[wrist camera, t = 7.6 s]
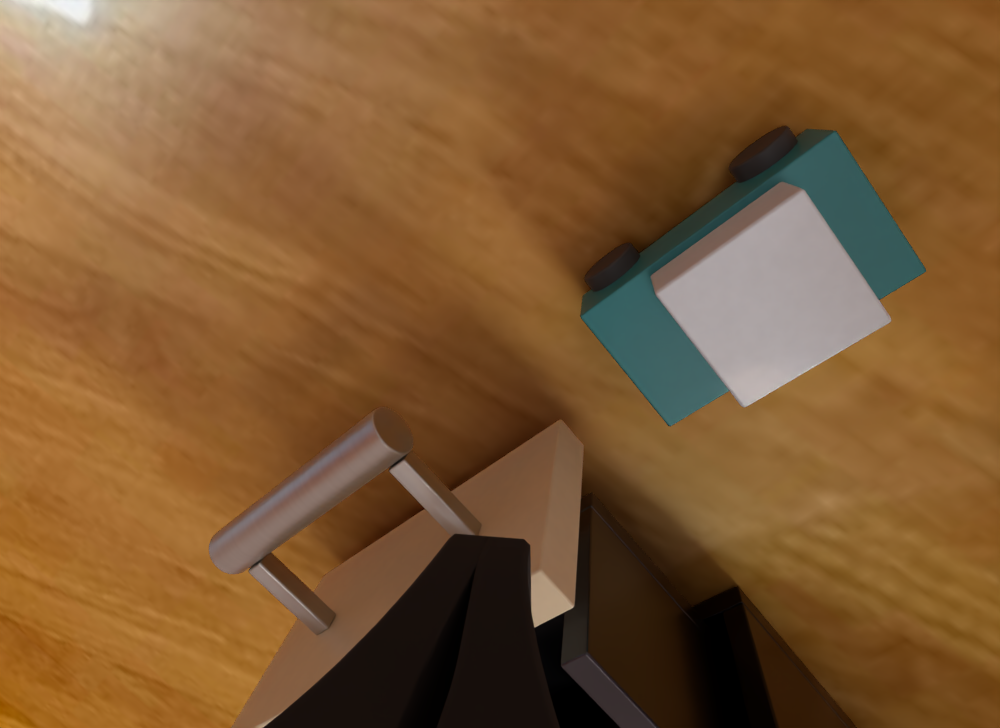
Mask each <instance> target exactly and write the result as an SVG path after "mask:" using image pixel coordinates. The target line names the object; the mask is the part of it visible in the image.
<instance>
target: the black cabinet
mask: <svg viewBox="0 0 1000 728" xmlns="http://www.w3.org/2000/svg"><path fill="white" fill-rule="evenodd" d="M693 608H694V610H695V611H696V612H697V613H698V614H699V615H700V616H701V618H702V619H703V620H704V621H705V622H706V623H707V624H708V626H709V627H710V628H711V629H712V630H713V631H714V632H715V634H716V635H717V636H718V637H719V638H720V639H721V640H722V642H723V643H724V644H725V645H726V646H727V647H728V648H729V650H730V651H731V652H732V654H733V658H734V663H735V667H736V671H737V675H738V679H739V683H740V687H741V692H742V696H743V700H744V704H745V708H746V712H747V716H748V721H749V725H750V728H857V727H856V726H855V725H854V724H853V723H852V721H851V720H850V719H849V718H848V717H847V715H846V714H845V713H844V712H843V711H842V710H841V708H840V707H839V706H838V705H837V704H836V702H835V701H834V700H833V699H832V698H831V696H830V695H829V694H828V693H827V692H826V690H825V689H824V688H823V687H822V686H821V685H820V683H819V682H818V681H817V680H816V679H815V677H814V676H813V675H812V674H811V673H810V671H809V670H808V669H807V668H806V667H805V666H804V664H803V663H802V662H801V661H800V660H799V658H798V657H797V656H796V655H795V654H794V652H793V651H792V650H791V649H790V648H789V647H788V645H787V644H786V643H785V642H784V641H783V639H782V638H781V637H780V636H779V635H778V633H777V632H776V631H775V630H774V629H773V627H772V626H771V625H770V624H769V623H768V622H767V620H766V619H765V618H764V617H763V616H762V614H761V613H760V612H759V611H758V610H757V608H756V607H755V606H754V605H753V604H752V603H751V601H750V600H749V599H748V598H747V597H746V595H745V594H744V593H743V592H742V591H741V589H740V588H739V587H738V586H736V587H734V588H732V589H730V590H728V591H725V592H723V593H721V594H719V595H717V596H715V597H713V598H711V599H708V600H706V601H704V602H702V603H700V604H698V605H696V606H694V607H693Z"/></svg>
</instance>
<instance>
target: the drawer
mask: <svg viewBox="0 0 1000 728" xmlns="http://www.w3.org/2000/svg"><path fill="white" fill-rule="evenodd" d="M412 448H413V436H412V433H411V430H410V428H409V426H408V425H407V423H406V422H405V420H404V419H403V418H402V417H401V416H400V415H399V414H398V413H397V412H395V411H394V410H392V409H390V408H387V407H378V408H376V409H375V410H373V411H372V412H371V413H370V414H368V415H367V416H366V417H364V418H363V419H362V420H361V421H359V422H358V423H357V424H355V425H354V426H353V427H352V428H350V429H349V430H348V431H346V432H345V433H344V434H343V435H341V436H340V437H339V438H337V439H336V440H335V441H334V442H332V443H331V444H330V445H328V446H327V447H326V448H325V449H323V450H322V451H321V452H319V453H318V454H317V455H316V456H314V457H313V458H312V459H310V460H309V461H308V462H307V463H305V464H304V465H303V466H301V467H300V468H299V469H298V470H296V471H295V472H294V473H293V474H291V475H290V476H289V477H287V478H286V479H285V480H284V481H282V482H281V483H280V484H278V485H277V486H276V487H275V488H273V489H272V490H271V491H269V492H268V493H267V494H266V495H264V496H263V497H262V498H260V499H259V500H258V501H257V502H255V503H254V504H253V505H251V506H250V507H249V508H248V509H246V510H245V511H244V512H242V513H241V514H240V515H239V516H237V517H236V518H235V519H233V520H232V521H231V522H230V523H228V524H227V525H226V526H224V527H223V528H222V529H221V530H219V531H218V532H217V533H216V534H215V535H214V536H213V537H212V539H211V541H210V544H209V554H210V557H211V560H212V561H213V563H214V564H215V566H216V567H217V568H219V569H220V570H221V571H223V572H225V573H228V574H239V573H242V572H244V571H245V570H247V569H248V568H250V567H251V568H250V569H249V573H250V574H251V575H252V576H253V577H254V578H255V579H256V580H257V581H258V582H260V583H261V584H262V585H263V586H264V587H265V588H266V589H267V590H268V591H269V592H270V593H271V594H272V595H274V596H275V597H276V598H277V599H278V600H279V601H280V602H281V603H282V604H283V605H284V606H285V607H286V608H287V609H289V610H290V611H291V612H292V613H293V614H294V615H295V616H296V617H297V618H298V619H297V620H296V622H295V624H294V625H293V627H292V629H291V630H290V632H289V634H288V635H287V637H286V639H285V640H284V642H283V643H282V645H281V647H280V648H279V650H278V652H277V653H276V655H275V657H274V658H273V660H272V662H271V663H270V665H269V666H268V668H267V670H266V671H265V673H264V675H263V676H262V678H261V680H260V681H259V683H258V685H257V686H256V688H255V689H254V691H253V693H252V694H251V696H250V698H249V699H248V701H247V703H246V704H245V706H244V708H243V709H242V711H241V712H240V714H239V716H238V717H237V719H236V721H235V722H234V724H233V726H232V727H231V728H263V727H264V726H266V725H267V724H268V723H269V722H271V721H272V720H273V719H274V718H276V717H277V716H278V715H279V714H281V713H282V712H283V711H284V710H285V709H287V708H288V707H289V706H290V705H291V704H292V703H294V702H295V701H296V700H297V699H298V698H299V697H301V696H302V695H303V694H304V693H305V692H306V691H307V690H309V689H310V688H311V687H312V686H313V685H314V684H315V683H316V682H318V681H319V680H320V679H321V678H322V677H323V676H324V675H325V674H326V673H327V672H328V671H329V670H331V669H332V668H333V667H334V666H335V665H336V664H337V663H338V662H339V661H340V660H341V659H342V658H343V657H344V656H345V655H346V654H347V653H348V652H349V651H350V650H351V649H352V648H353V647H354V646H355V645H356V644H357V643H358V642H359V641H360V640H361V639H362V638H363V637H364V636H365V635H366V634H367V633H368V632H369V631H370V630H371V629H372V628H373V627H374V626H375V625H376V624H377V623H378V622H379V620H380V619H381V618H382V617H383V616H384V615H385V614H386V613H387V612H388V611H389V609H390V608H391V607H392V606H393V605H394V604H395V603H396V602H397V600H398V599H399V598H400V597H401V596H402V595H403V594H404V593H405V592H406V590H407V589H408V588H409V587H410V586H411V585H412V583H413V582H414V581H415V580H416V579H417V578H418V576H419V575H420V574H421V573H422V572H423V570H424V569H425V568H426V567H427V566H428V564H429V563H430V562H431V561H432V559H433V558H434V557H435V556H436V554H437V553H438V552H439V551H440V549H441V548H442V547H443V545H444V544H445V543H446V542H447V540H448V539H449V538H450V537H451V536H453V535H454V534H467V535H480V536H492V537H505V538H518V539H525V540H526V541H527V542H528V543H529V544H530V549H531V612H532V618H533V623H534V628H535V634H536V639H537V644H538V649H539V653H540V657H541V662H542V666H543V670H544V674H545V677H546V681H547V685H548V689H549V693H550V696H551V700H552V703H553V707H554V710H555V713H556V716H557V720H558V723H559V726H560V728H750V725H749V721H748V716H747V712H746V708H745V704H744V700H743V696H742V692H741V687H740V683H739V679H738V675H737V671H736V667H735V663H734V658H733V654H732V652H731V651H730V650H729V648H728V647H727V646H726V645H725V644H724V643H723V642H722V640H721V639H720V638H719V637H718V636H717V635H716V634H715V632H714V631H713V630H712V629H711V628H710V627H709V626H708V624H707V623H706V622H705V621H704V620H703V619H702V618H701V616H700V615H699V614H698V613H697V612H696V611H695V610H694V608H693V607H692V606H691V605H690V604H689V603H688V601H687V600H686V599H685V598H684V597H683V596H682V595H681V593H680V592H679V591H678V590H677V589H676V588H675V587H674V585H673V584H672V583H671V582H670V581H669V580H668V579H667V577H666V576H665V575H664V574H663V573H662V572H661V571H660V569H659V568H658V567H657V566H656V565H655V564H654V563H653V561H652V560H651V559H650V558H649V557H648V556H647V554H646V553H645V552H644V551H643V550H642V549H641V548H640V546H639V545H638V544H637V543H636V542H635V541H634V540H633V538H632V537H631V536H630V535H629V534H628V533H627V532H626V530H625V529H624V528H623V527H622V526H621V525H620V524H619V522H618V521H617V520H616V519H615V518H614V517H613V516H612V514H611V513H610V512H609V511H608V510H607V509H606V508H605V506H604V505H603V504H602V503H601V502H600V501H599V499H598V498H597V497H596V496H595V495H594V494H593V493H592V492H591V493H589V494H587V495H585V496H584V497H582V498H581V486H582V468H583V451H584V445H583V444H582V443H581V442H580V440H579V439H578V438H577V437H576V436H575V435H574V433H573V432H572V431H571V430H570V429H569V428H568V426H567V425H566V424H565V423H564V422H563V421H562V420H561V419H560V420H558V421H557V422H555V423H554V424H552V425H551V426H549V427H548V428H546V429H545V430H543V431H541V432H540V433H538V434H537V435H535V436H534V437H532V438H531V439H529V440H528V441H526V442H525V443H523V444H522V445H520V446H519V447H517V448H516V449H514V450H513V451H511V452H510V453H508V454H507V455H505V456H504V457H502V458H501V459H499V460H498V461H496V462H495V463H493V464H492V465H490V466H489V467H487V468H486V469H484V470H483V471H481V472H480V473H478V474H476V475H475V476H473V477H472V478H470V479H469V480H467V481H466V482H464V483H463V484H461V485H460V486H458V487H457V488H455V489H454V490H452V491H450V490H449V489H448V488H447V487H446V486H445V485H444V484H443V482H442V481H441V480H440V479H439V478H438V477H437V476H436V475H435V474H434V473H433V472H432V471H431V470H430V469H429V468H428V466H427V465H426V464H425V463H424V462H423V461H422V460H421V459H420V458H419V457H418V456H417V455H416V454H415V453H414V452H413V451H412ZM390 466H391V467H390ZM389 467H390V469H389V472H390V473H391V474H392V475H393V476H394V477H395V478H396V479H397V480H398V481H399V482H400V483H401V485H402V486H403V487H404V488H405V489H406V490H407V491H408V492H409V493H410V494H411V495H412V496H413V497H414V498H415V499H416V500H417V501H418V502H419V503H420V504H421V505H422V506H423V507H424V510H422V511H421V512H419V513H418V514H416V515H415V516H413V517H411V518H410V519H408V520H407V521H405V522H404V523H402V524H401V525H399V526H398V527H396V528H395V529H393V530H392V531H390V532H389V533H387V534H386V535H384V536H383V537H381V538H380V539H378V540H377V541H375V542H374V543H372V544H371V545H369V546H368V547H366V548H365V549H363V550H362V551H360V552H359V553H357V554H356V555H354V556H353V557H351V558H350V559H348V560H346V561H345V562H343V563H342V564H340V565H339V566H337V567H336V568H334V569H333V570H331V571H330V572H328V573H327V574H325V575H324V576H323V578H322V579H321V581H320V583H319V584H318V586H317V588H316V589H315V591H314V593H313V592H312V591H311V590H310V589H309V588H308V587H307V586H306V585H305V584H304V583H303V582H302V581H301V580H300V579H299V578H298V577H297V576H296V575H295V574H293V573H292V572H291V571H290V570H289V569H288V568H287V567H286V566H285V565H284V564H283V563H282V562H281V561H280V560H279V559H278V558H277V557H276V556H274V555H273V554H272V553H271V552H272V551H273V550H275V549H276V548H277V547H279V546H280V545H282V544H283V543H284V542H286V541H287V540H289V539H290V538H291V537H293V536H294V535H296V534H297V533H298V532H300V531H301V530H303V529H304V528H305V527H307V526H308V525H309V524H311V523H312V522H314V521H315V520H316V519H318V518H319V517H321V516H322V515H323V514H325V513H326V512H328V511H329V510H330V509H332V508H333V507H335V506H336V505H337V504H339V503H340V502H342V501H343V500H344V499H346V498H347V497H348V496H350V495H351V494H353V493H354V492H355V491H357V490H358V489H360V488H361V487H362V486H364V485H365V484H367V483H368V482H369V481H371V480H372V479H374V478H375V477H376V476H378V475H379V474H380V473H382V472H383V471H385V470H386V469H387V468H389Z"/></svg>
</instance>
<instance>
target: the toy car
mask: <svg viewBox="0 0 1000 728" xmlns="http://www.w3.org/2000/svg"><path fill="white" fill-rule="evenodd" d="M729 171H730V172H731V174H732V175H733V176H734V178H735V179H736V182H735V183H734V184H732V185H731V186H730V187H728V188H727V189H725V190H724V191H723V192H721V193H720V194H719V195H717V196H716V197H715V198H713V199H712V200H711V201H709V202H708V203H707V204H705V205H704V206H703V207H701V208H700V209H699V210H697V211H696V212H695V213H693V214H692V215H690V216H689V217H688V218H686V219H685V220H684V221H682V222H681V223H680V224H678V225H677V226H676V227H674V228H673V229H672V230H670V231H669V232H668V233H666V234H665V235H664V236H662V237H661V238H660V239H658V240H657V241H655V242H654V243H653V244H651V245H650V246H649V247H647V248H646V249H645V250H643V251H642V252H641V253H638V252H637V251H636V249H635V248H634V247H633V245H632V244H631V243H625V244H623V245H621V246H619V247H617V248H615V249H614V250H612V251H611V252H610V253H608V254H607V255H605V256H604V257H603V258H602V259H600V260H599V261H598V262H597V263H596V264H595V265H594V266H593V267H592V268H591V269H590V270H589V271H588V272H587V274H586V275H585V277H584V279H585V282H586V283H587V284H588V285H589V287H590V288H591V290H590V291H588V292H587V293H585V294H584V295H583V297H582V306H581V315H580V317H581V319H582V320H583V321H584V322H585V324H586V325H587V326H588V327H589V328H590V330H591V331H592V332H593V333H594V335H595V336H596V337H597V338H598V340H599V341H600V342H601V343H602V345H603V346H604V347H605V348H606V349H607V351H608V352H609V353H610V354H611V356H612V357H613V358H614V359H615V361H616V362H617V363H618V364H619V365H620V367H621V368H622V369H623V370H624V372H625V373H626V374H627V375H628V377H629V378H630V379H631V380H632V381H633V383H634V384H635V385H636V386H637V388H638V389H639V390H640V391H641V393H642V394H643V395H644V396H645V397H646V399H647V400H648V401H649V402H650V404H651V405H652V406H653V407H654V409H655V410H656V411H657V412H658V414H659V415H660V416H661V417H662V418H663V420H664V421H665V422H666V423H667V425H668V426H672V425H673V424H675V423H677V422H678V421H680V420H682V419H683V418H685V417H687V416H688V415H690V414H692V413H693V412H695V411H697V410H698V409H700V408H702V407H703V406H705V405H706V404H708V403H710V402H711V401H713V400H715V399H716V398H718V397H720V396H721V395H723V394H725V393H726V392H728V391H730V392H731V394H732V395H733V396H734V397H735V399H736V400H737V401H738V403H739V404H740V405H741V406H742V407H747V406H749V405H750V404H752V403H754V402H755V401H757V400H759V399H761V398H762V397H764V396H766V395H767V394H769V393H771V392H772V391H774V390H776V389H778V388H779V387H781V386H783V385H784V384H786V383H788V382H789V381H791V380H793V379H795V378H796V377H798V376H800V375H801V374H803V373H805V372H806V371H808V370H810V369H812V368H813V367H815V366H817V365H818V364H820V363H822V362H824V361H825V360H827V359H829V358H830V357H832V356H834V355H835V354H837V353H839V352H841V351H842V350H844V349H846V348H847V347H849V346H851V345H852V344H854V343H856V342H858V341H859V340H861V339H863V338H864V337H866V336H868V335H869V334H871V333H873V332H875V331H876V330H878V329H880V328H881V327H883V326H885V325H886V324H888V323H890V322H891V317H890V316H889V314H888V313H887V311H886V310H885V308H884V307H883V305H882V304H881V302H880V301H879V300H880V299H882V298H883V297H885V296H887V295H888V294H890V293H892V292H893V291H895V290H897V289H898V288H900V287H901V286H903V285H905V284H906V283H908V282H910V281H911V280H913V279H915V278H916V277H918V276H920V275H921V274H923V273H925V272H926V269H925V267H924V266H923V264H922V262H921V261H920V259H919V258H918V256H917V255H916V253H915V252H914V250H913V249H912V247H911V245H910V244H909V242H908V241H907V239H906V238H905V236H904V235H903V233H902V232H901V230H900V228H899V227H898V225H897V224H896V222H895V221H894V219H893V218H892V216H891V215H890V213H889V211H888V210H887V208H886V207H885V205H884V204H883V202H882V201H881V199H880V198H879V196H878V195H877V193H876V191H875V190H874V188H873V187H872V185H871V184H870V182H869V181H868V179H867V178H866V176H865V174H864V173H863V171H862V170H861V168H860V167H859V165H858V164H857V162H856V161H855V159H854V157H853V156H852V154H851V153H850V151H849V150H848V148H847V147H846V145H845V144H844V142H843V140H842V139H841V137H840V136H839V134H838V133H837V131H834V130H817V129H806V130H805V131H804V132H802V133H801V134H799V135H798V136H797V137H795V136H794V134H793V133H792V131H791V130H790V128H789V127H788V126H782V127H779V128H777V129H775V130H773V131H771V132H769V133H768V134H766V135H764V136H763V137H761V138H760V139H758V140H757V141H755V142H754V143H753V144H751V145H750V146H749V147H747V148H746V149H745V150H744V151H743V152H741V153H740V154H739V155H738V156H737V157H736V158H735V159H734V160H733V161H732V162H731V164H730V165H729Z"/></svg>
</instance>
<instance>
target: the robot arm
mask: <svg viewBox="0 0 1000 728" xmlns="http://www.w3.org/2000/svg"><path fill="white" fill-rule="evenodd" d="M263 728H560V726H559V723H558V720H557V716H556V713H555V710H554V707H553V703H552V700H551V696H550V693H549V689H548V685H547V681H546V677H545V674H544V670H543V666H542V662H541V657H540V653H539V649H538V644H537V639H536V634H535V628H534V623H533V618H532V612H531V549H530V544H529V543H528V542H527V541H526V540H525V539H518V538H505V537H492V536H480V535H467V534H454V535H453V536H451V537H450V538H449V539H448V540H447V542H446V543H445V544H444V545H443V547H442V548H441V549H440V551H439V552H438V553H437V554H436V556H435V557H434V558H433V559H432V561H431V562H430V563H429V564H428V566H427V567H426V568H425V569H424V570H423V572H422V573H421V574H420V575H419V576H418V578H417V579H416V580H415V581H414V582H413V583H412V585H411V586H410V587H409V588H408V589H407V590H406V592H405V593H404V594H403V595H402V596H401V597H400V598H399V599H398V600H397V602H396V603H395V604H394V605H393V606H392V607H391V608H390V609H389V611H388V612H387V613H386V614H385V615H384V616H383V617H382V618H381V619H380V620H379V622H378V623H377V624H376V625H375V626H374V627H373V628H372V629H371V630H370V631H369V632H368V633H367V634H366V635H365V636H364V637H363V638H362V639H361V640H360V641H359V642H358V643H357V644H356V645H355V646H354V647H353V648H352V649H351V650H350V651H349V652H348V653H347V654H346V655H345V656H344V657H343V658H342V659H341V660H340V661H339V662H338V663H337V664H336V665H335V666H334V667H333V668H332V669H331V670H329V671H328V672H327V673H326V674H325V675H324V676H323V677H322V678H321V679H320V680H319V681H318V682H316V683H315V684H314V685H313V686H312V687H311V688H310V689H309V690H307V691H306V692H305V693H304V694H303V695H302V696H301V697H299V698H298V699H297V700H296V701H295V702H294V703H292V704H291V705H290V706H289V707H288V708H287V709H285V710H284V711H283V712H282V713H281V714H279V715H278V716H277V717H276V718H274V719H273V720H272V721H271V722H269V723H268V724H267V725H266V726H264V727H263Z"/></svg>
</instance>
